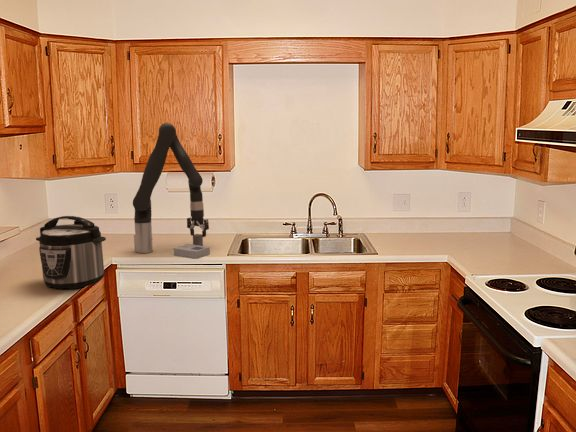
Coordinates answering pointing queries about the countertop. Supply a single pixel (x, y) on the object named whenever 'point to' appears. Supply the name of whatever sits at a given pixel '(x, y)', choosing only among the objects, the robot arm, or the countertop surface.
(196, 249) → the socket plate
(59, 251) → the pressure cooker
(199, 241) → the grey square peg
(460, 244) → the countertop surface
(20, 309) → the countertop surface
